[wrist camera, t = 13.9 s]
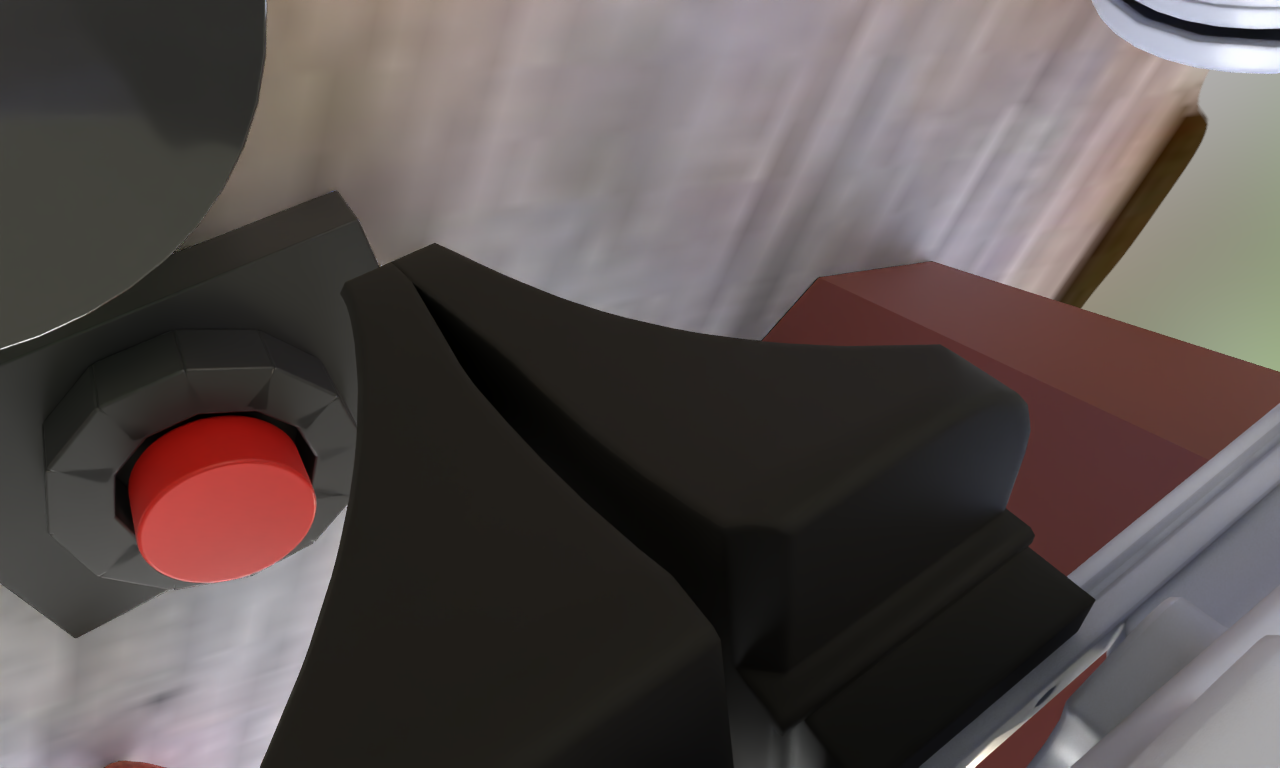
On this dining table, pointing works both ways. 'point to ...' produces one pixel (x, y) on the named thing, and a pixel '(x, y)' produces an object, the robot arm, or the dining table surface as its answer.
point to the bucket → (1056, 406)
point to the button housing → (175, 400)
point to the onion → (131, 765)
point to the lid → (113, 142)
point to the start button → (220, 499)
